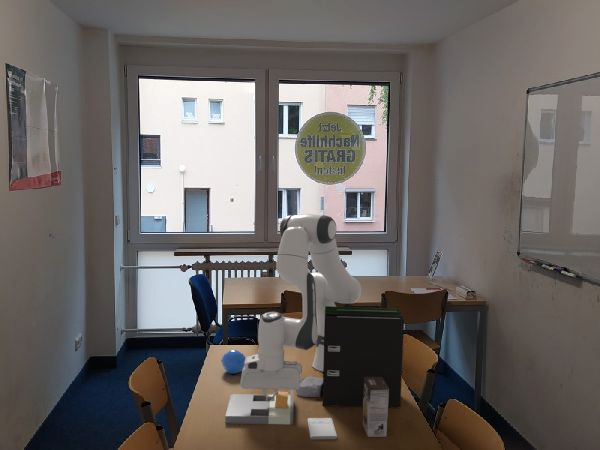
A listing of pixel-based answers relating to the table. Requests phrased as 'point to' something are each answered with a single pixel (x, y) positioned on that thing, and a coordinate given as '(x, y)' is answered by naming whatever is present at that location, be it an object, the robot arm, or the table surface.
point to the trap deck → (258, 410)
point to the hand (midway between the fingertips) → (270, 400)
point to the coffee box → (375, 406)
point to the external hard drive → (321, 428)
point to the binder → (361, 353)
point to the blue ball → (233, 361)
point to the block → (281, 399)
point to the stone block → (310, 387)
